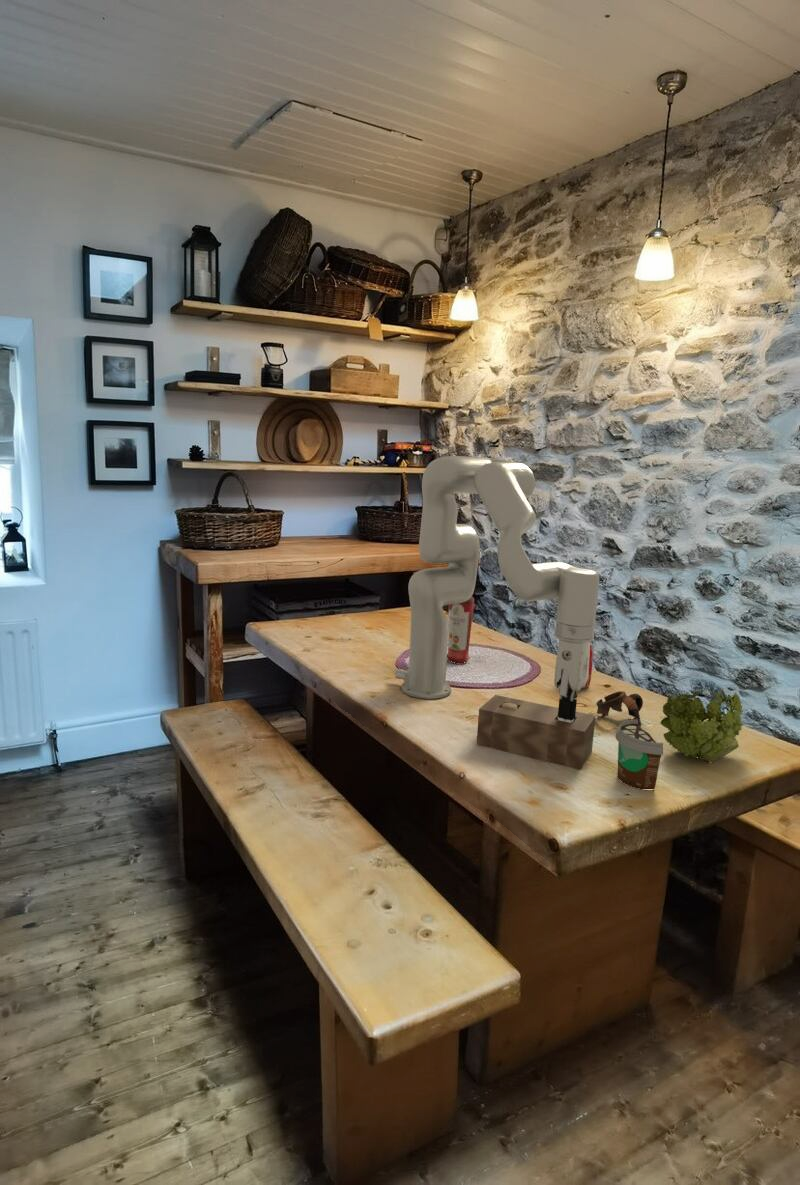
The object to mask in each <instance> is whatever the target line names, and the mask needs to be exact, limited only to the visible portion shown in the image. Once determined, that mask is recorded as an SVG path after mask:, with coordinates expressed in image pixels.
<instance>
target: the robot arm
mask: <svg viewBox="0 0 800 1185" xmlns="http://www.w3.org/2000/svg"><path fill="white" fill-rule="evenodd" d="M535 487H536V479H535V474H534V473H533V471H532V470H531V469H530V468H529V466H527V465H526V464H525V463H522V462H517V461H510V460H505V459H499V458H493V457H486V456H485V457H483V456H466V455H465V456H464V455H451V456H450V455H449V456H441V457H437V458H436V459H434V460H432V461H430V463H428V464H427V466H426V467H425V469H424V471H423V475H422V478H421V489H422V490H421V493H422V511H421V512H422V513H421V522H420V531H419V532H420V533H419V539H418V540H419V541H418V553H419V556H420V558H421V560H422V561H423V562H424V563H427V564H431V565H432V564H433V565H439V564H448V566H443V567H430V568H423V569H421V570H418V571H416V572H415V573H413V574H412V575H411V577H410V578H409V582H408V586H407V588H408V589H407V590H408V597H409V598H408V599H409V605H410V630H409V631H410V632H409V633H410V634H409V638H410V639H409V653H408V669H407V670H406V669H402V668H396V669H395V671H394V673H395V674H394V675H395V676H394V677H395V679H398V680H403V682H402V684H401V691H402V692H403V694H405V695H407V696H410V697H414V698H417V699H423V700H424V699H425V700H432V699H433V700H435V699H442V698H445V697H447V696H449V695H450V694H451V693H452V687H451V685H450V684H449V683H447V682H446V678H447V664H448V663H447V662H448V658H447V654H448V634H449V618H448V617H447V615H446V613H445V611H444V608H443V607H445V606H449V605H451V604H457V603H463V602H465V601H467V600H469V599H470V597H471V596H472V597H473V594H474V591H475V588H476V582H477V576H478V575H477V574H478V567H479V566H478V564H479V559H480V558H479V557H480V551H481V550H480V549H481V547H480V546H481V544H480V538H479V536H478V534H477V532H476V530H475V528H473V527H472V526H470V525H469V524H465V523H458V513H459V508H458V503H457V501H456V498H455V496H454V495H453V494H478V496H479V498H480V500H481V502H482V504H483V505H484V507H485V509H486V511H487V512H488V514H489V516H490V518H491V519H492V522H493V524H494V526H495V528H497V531H498V532H499V533H498V534H499V538H498V541H497V562H498V565H499V569H500V571H501V574H502V575H503V577H504V579H505V581H506V583H507V584H508V586H509V588H510V590H511V591H512V593H513V594H514V595H515V596H516V597H518V598H519V600H521V601H524V602H538V601H544V600H554V599H557V606H556V607H557V608H556V618H555V629H554V630H555V632H554V637H555V638H556V639H558V646H557V648H556V649H557V651H556V659H555V661H556V662H555V669H554V681H553V682H554V687H556V688H559V698H558V707H557V708H558V717H559V718H564V719H569V720H573V719H574V718H575V714H576V712H577V703H578V699H577V697H578V692H579V691H580V690H581V689H583V688H582V687H583V686H584V684H585V683H586V682H587V680H588V675H589V658H590V642H591V643H592V642H593V641H594V639H595V638H594V637H595V636H594V635H595V627H596V626H595V625H596V619H597V618H596V617H597V616H596V615H597V608H598V607H597V606H598V597H599V588H600V575H599V574H598V572H597V571H595V570H592V569H587V568H578V567H576V566H573V565H570V564H568V563H566V562H562V561H551V562H550V561H549V562H547V561H545V562H538V563H535V562H534V563H532V562H531V560H530V558H529V557H528V555H527V553H526V551H525V549H524V546H523V543H522V536H523V535H524V534H525V533H526V532H528V531H529V530H530V529H531V528H532V527H533V526H534V524H535V523H536V519H537V515H536V513H535V511H534V509H533V508H532V506H531V504H530V503H529V501H528V498H530V496H532V494H533V493H534V491H535Z"/></svg>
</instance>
